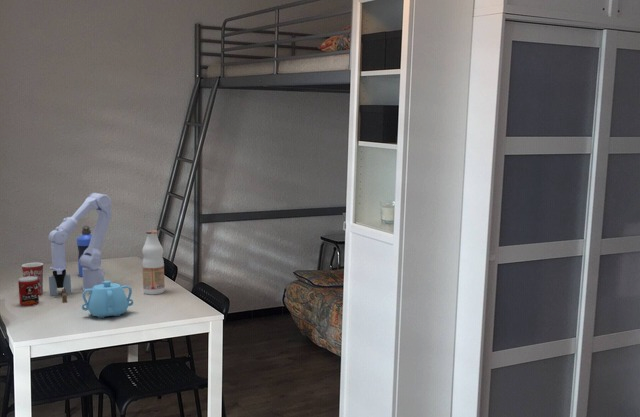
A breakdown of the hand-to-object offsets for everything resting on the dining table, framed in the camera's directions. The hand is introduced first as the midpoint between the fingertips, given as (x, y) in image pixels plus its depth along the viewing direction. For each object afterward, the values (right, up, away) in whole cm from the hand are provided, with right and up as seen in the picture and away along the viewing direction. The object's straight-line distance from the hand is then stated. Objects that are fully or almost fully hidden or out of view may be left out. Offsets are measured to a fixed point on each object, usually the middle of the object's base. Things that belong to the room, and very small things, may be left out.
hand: (60, 287), depth 322 cm
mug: (-12, -3, +2) cm, 13 cm away
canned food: (-7, -6, -16) cm, 18 cm away
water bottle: (0, +1, +38) cm, 38 cm away
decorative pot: (+31, -8, -33) cm, 46 cm away
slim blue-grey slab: (0, -3, 0) cm, 3 cm away
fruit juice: (+41, -3, +3) cm, 41 cm away
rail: (+5, -4, -8) cm, 11 cm away
